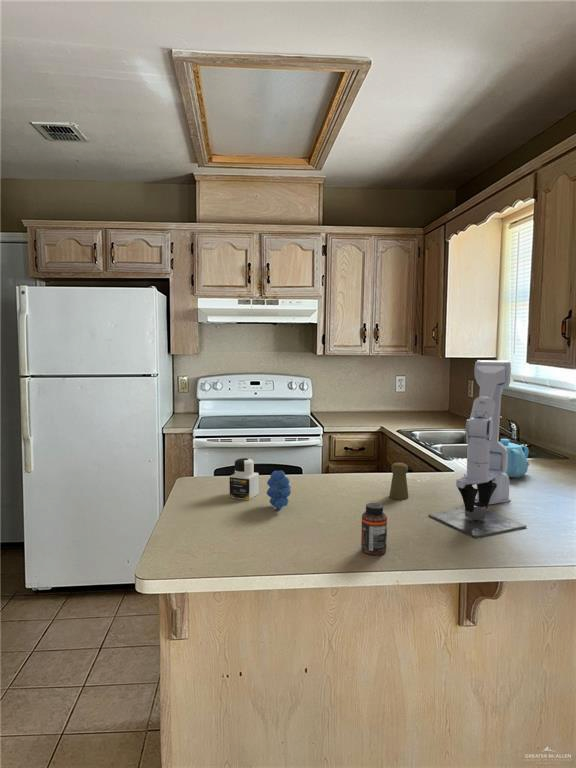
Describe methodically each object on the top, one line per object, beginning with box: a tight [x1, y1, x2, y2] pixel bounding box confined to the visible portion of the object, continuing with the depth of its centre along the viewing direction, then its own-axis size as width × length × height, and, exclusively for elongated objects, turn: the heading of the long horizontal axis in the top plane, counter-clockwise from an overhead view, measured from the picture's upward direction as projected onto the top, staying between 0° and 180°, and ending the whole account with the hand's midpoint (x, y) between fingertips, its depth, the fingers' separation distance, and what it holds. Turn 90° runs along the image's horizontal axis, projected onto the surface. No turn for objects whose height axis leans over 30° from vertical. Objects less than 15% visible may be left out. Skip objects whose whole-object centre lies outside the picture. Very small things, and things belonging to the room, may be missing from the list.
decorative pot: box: [490, 438, 530, 479], centre depth 190 cm, size 16×16×14 cm
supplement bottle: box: [360, 502, 388, 556], centre depth 121 cm, size 6×6×11 cm
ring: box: [465, 500, 487, 520], centre depth 142 cm, size 5×5×4 cm
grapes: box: [266, 470, 292, 510], centre depth 152 cm, size 12×7×12 cm, turn 31°
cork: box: [388, 462, 410, 501], centre depth 163 cm, size 6×6×11 cm
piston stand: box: [428, 507, 527, 539], centre depth 141 cm, size 18×18×3 cm
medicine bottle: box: [229, 457, 260, 501], centre depth 164 cm, size 7×7×12 cm
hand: (476, 509), depth 141 cm, fingers closed on ring, 5 cm apart
